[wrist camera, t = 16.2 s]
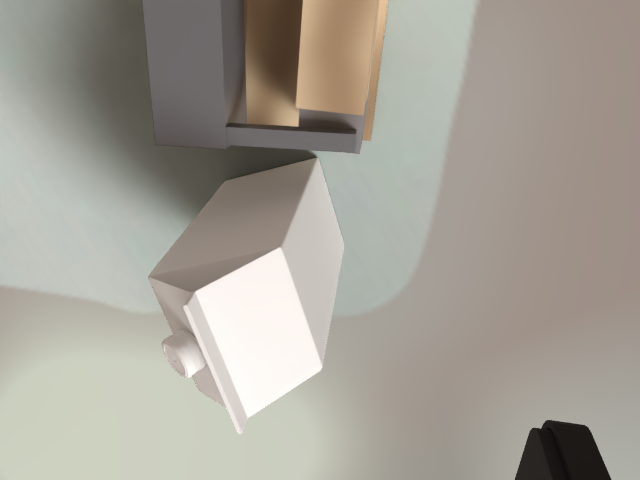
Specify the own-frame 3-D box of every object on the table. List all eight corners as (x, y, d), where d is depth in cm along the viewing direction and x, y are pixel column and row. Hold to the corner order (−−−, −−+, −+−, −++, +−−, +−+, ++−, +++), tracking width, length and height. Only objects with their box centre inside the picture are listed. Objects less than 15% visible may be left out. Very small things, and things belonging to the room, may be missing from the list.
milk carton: (318, 155, 41) (263, 288, 24) (345, 245, 44) (313, 423, 26) (224, 179, 42) (109, 320, 25) (256, 264, 45) (171, 444, 28)
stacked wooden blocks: (185, 113, 41) (129, 151, 32) (182, -121, 35) (113, -151, 26) (371, 134, 40) (365, 179, 31) (401, -102, 34) (403, -127, 25)
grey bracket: (184, 123, 37) (155, 144, 32) (171, -75, 32) (134, -82, 28) (359, 133, 36) (354, 156, 31) (371, -70, 31) (367, -77, 27)
